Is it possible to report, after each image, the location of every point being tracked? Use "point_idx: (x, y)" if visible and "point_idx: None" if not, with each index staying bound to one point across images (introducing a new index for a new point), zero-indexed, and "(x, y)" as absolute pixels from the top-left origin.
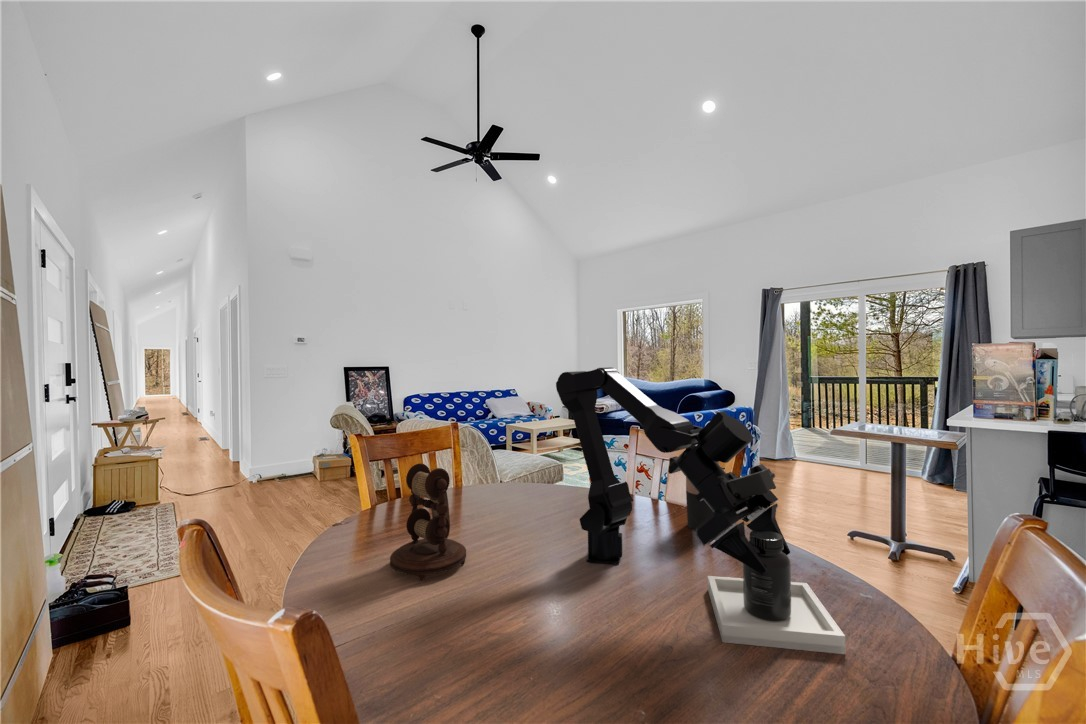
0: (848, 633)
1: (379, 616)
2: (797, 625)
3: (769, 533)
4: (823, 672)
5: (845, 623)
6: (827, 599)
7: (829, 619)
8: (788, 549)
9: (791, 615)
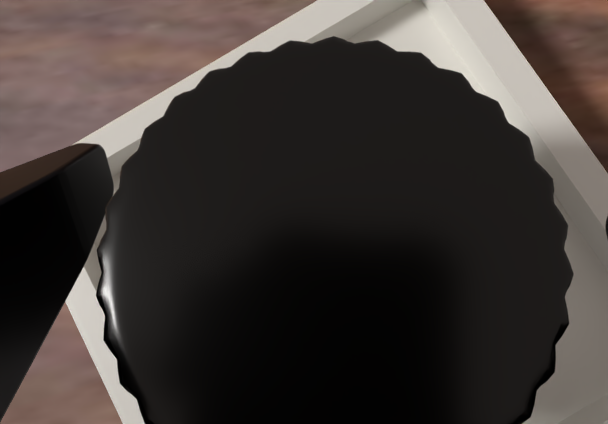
0: (259, 3)
1: None
2: None
3: (221, 241)
4: (600, 5)
5: (186, 28)
6: (17, 126)
7: (330, 10)
8: (76, 150)
9: None
